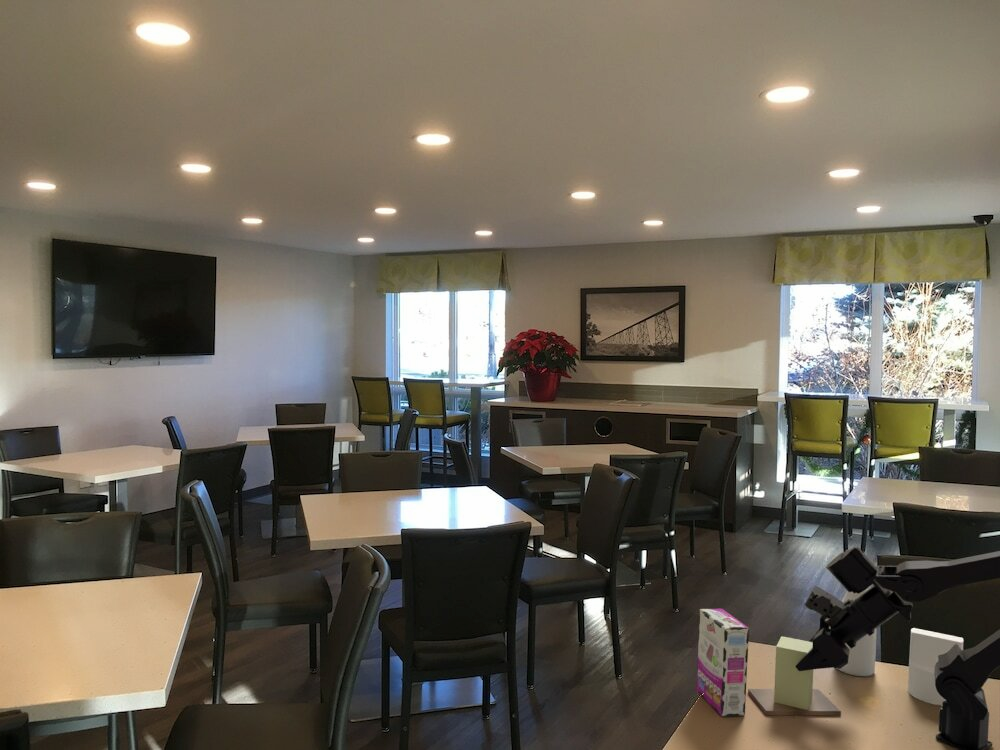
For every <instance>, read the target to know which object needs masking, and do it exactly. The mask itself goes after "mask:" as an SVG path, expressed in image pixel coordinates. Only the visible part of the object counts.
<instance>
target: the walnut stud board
mask: <svg viewBox="0 0 1000 750" xmlns="http://www.w3.org/2000/svg"><path fill="white" fill-rule="evenodd" d="M747 694H748V695H749V696H750V698H752V700H753V701H754V702H755V703H756V705H757V706H758V707H759V708H760V709H761V711H762V712H763V713H764V714H765V716H842V711H841V709H839V708H838V706H836V705H835V703H833V702H832V701H831V700H830V699H829V698H828V697H827V695H826V694H824V693H823V692H822V691H821V690H820V689H819V688H813V690H812V699H811V702H810V705H809V709H808V710H806V709H801V708H797V707H793V706H789V705H784V704H780V703H776V702H774V688H748V689H747Z"/></svg>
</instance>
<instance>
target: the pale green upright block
mask: <svg viewBox="0 0 1000 750" xmlns="http://www.w3.org/2000/svg"><path fill="white" fill-rule="evenodd" d="M812 647H813V643H812V642H809V640H802V639H797V638H793V637H788V636H780V639H779V641H777V644H776V647H775V663H774V664H775V667H774V668H775V669H774V670H775V671H774V688H773V689H774V702H776V703H780V704H784V705H789V706H793V707H797V708H801V709H806V710H808V709H809V705H810V702H811V699H812V690H813V689H814V687H813V685H814V684H813V683H814V669H813V670H806V671H798V670H797V668H796V667H795V666H796V664H797V663H798V662H799V661H800V660H801V659H802V658H803V657H804V656H805V655H806V654H807V653H808V652H809V651H810V650H811V648H812Z"/></svg>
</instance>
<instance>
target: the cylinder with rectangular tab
mask: <svg viewBox="0 0 1000 750" xmlns="http://www.w3.org/2000/svg"><path fill="white" fill-rule="evenodd" d="M909 639H910V643H909V659H908V661H909V663H908V674H907V675H908V680H907V692H908V693H909V694H910V695H911V696H913V697H914V698H915V699H918V700H920V701H922V702H924V703H927V704H932V705H936V706H942V704H943V701H946V700H945V699H944V698H943V697H942V696H940V694H939V693H938V692H937V689H936V686H935V675H934V668H935V665H936V663H937V662H938V655H942V654H945V653H947V652H948V651H949V650H950V649H951V648H952V647H953V646H954V645H955V644H958V646H959V647H960V648H961V650H964V638H963V637H959V636H956V635H951V634H945V633H941V632H935V631H930V630H925V629H920V628H917V627H913V628H911V629H910V638H909Z"/></svg>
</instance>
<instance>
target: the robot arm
mask: <svg viewBox="0 0 1000 750" xmlns="http://www.w3.org/2000/svg"><path fill="white" fill-rule="evenodd" d="M825 569H826V570H828V571H829V573H830V574H831V575H832V576H833V578H835V579H836V580H837V582H838V583H840V585H842V587H843V588H844V590H845V591H848V592H853V593H857V594H859V593H861V592H863V591H864V590H865V589H867V588H868V587H869V586H870V589H869V590H868V591H866V592H865V593H864V594H862V595H861V596H859V597H858V598H857V599H855V600H854V601H853V600H850V599H849V600H847V601H846V602H844V603H843V602H842V600H841V599H839V598H837V597H836V596H835V595H833V594H831V593H829V592H828V591H826V590H824V589H823V588H821V587H819V586H817V585H815V586H813V588H812V590H811V591H810V593H809V595H808V596H807V598H806V601H805V602H804V606H805V607H806V608H807V609H809V610H811V611H813V612H816V613H817V614H819V615H820V618H819V628H817V630H816V631H815V632H814V634H813V635H812V636H811V637H810V639H808V641H809V642H812V643H813V647H812V648H811V650H810V651H809V652H808V653H807V654H806V655H805V656H804V657H803V658H802V659H801V660H800V661H799V662H798V663H797V664H796V666H795V667H796V668H797V670H798V671H806V670H813V671H814V670H819V669H821V670H822V669H830V668H831V669H832V668H833V669H837V668H838V669H841V668H842V667H843V666H845V665H846V664H848V661H849V654H850V649H849V648H848V647H847V646H846V645H845V643H846V644H847V645H848V646H849V647H850V648H851V649H852V648H853V647H855V646H856V642H857V641H858V640H860V639H861V638H863V637H864V636H866V635H867V634H868V635H869V636H870V635H872V634H873V633H874V631H875V629H876V628H877V629H878V627H880V626H881V625H883V624H884V623H886V622H887V621H889V620H890V619H891V618H893V617H894V616H895V615H897V614H900V615H901V616H902V617H903V618H904V619H905V621H907V622H910V621H912V609H913V606H914V605H913V602H915V603H916V602H921V601H925V600H926V599H929V598H932V597H934V596H938V595H940V594H941V593H943V592H945V591H947V590H949V589H951V588H954V587H959V586H965V585H968V584H969V585H970V584H975V583H981V582H986V581H990V580H991V581H992V580H997V579H1000V550H998V551H993V552H987V553H983V554H978V555H973V556H967V557H963V558H957V559H952V560H947V561H945V560H944V561H943V560H942V561H940V560H939V561H938V560H925V559H924V560H906V561H903V562H900V563H899V564H897V565H877V566H875V564H873V563H872V561H871V560H870V559H869V558H867V556H866V555H865V553H864V552H863V550H862V549H861V548H860V547H859V546H858V545H854V546H853V547H851V548H849V549H847V550H846V551H845V552H841V553H839V554H838V555H837V556H836V557H834V558H833V559H832V560H831V561H830V562H829V563H828V564H827V565H826V567H825ZM872 585H873V586H872ZM871 586H872V587H871ZM903 599H904V600H903ZM998 668H1000V629H997V631H995V632H994V633H992V634H991V635H990V636H988V637H987V638H985V639H984V640H982V641H981V642H979V643H978V644H977V645H976V646H973V647H971V648H966V649H963V650H961V648H960V647H959V646H958V644H955V645H954V646H953V647H952V648H951V649H950V650H949V651H948V652H947V653H945V654H942V655H938V662H937V663H936V665H935V668H934V675H935V686H936V689H937V692H938V693H939V694H940V696H942V697H943V698H944V699H945V700H946V701H943V704H942V705H941V708H939V712H938V713H939V714H938V731H939V733H937V734H935V739H936V740H939V741H941V742H943V743H946V744H948V745H950V746H952V747H954V748H956V749H959V750H987V749H989V748H991V747H993V742H992V741H990V740H989V726H990V725H989V724H990V712H989V709H988V705H987V700H986V694H985V691H984V689H983V686H984V685H985V684H986V682H987V681H988V679H989V678H990V676H991V674H992V673H993V672H994V671H995V670H997V669H998ZM838 669H837V670H838Z"/></svg>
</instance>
